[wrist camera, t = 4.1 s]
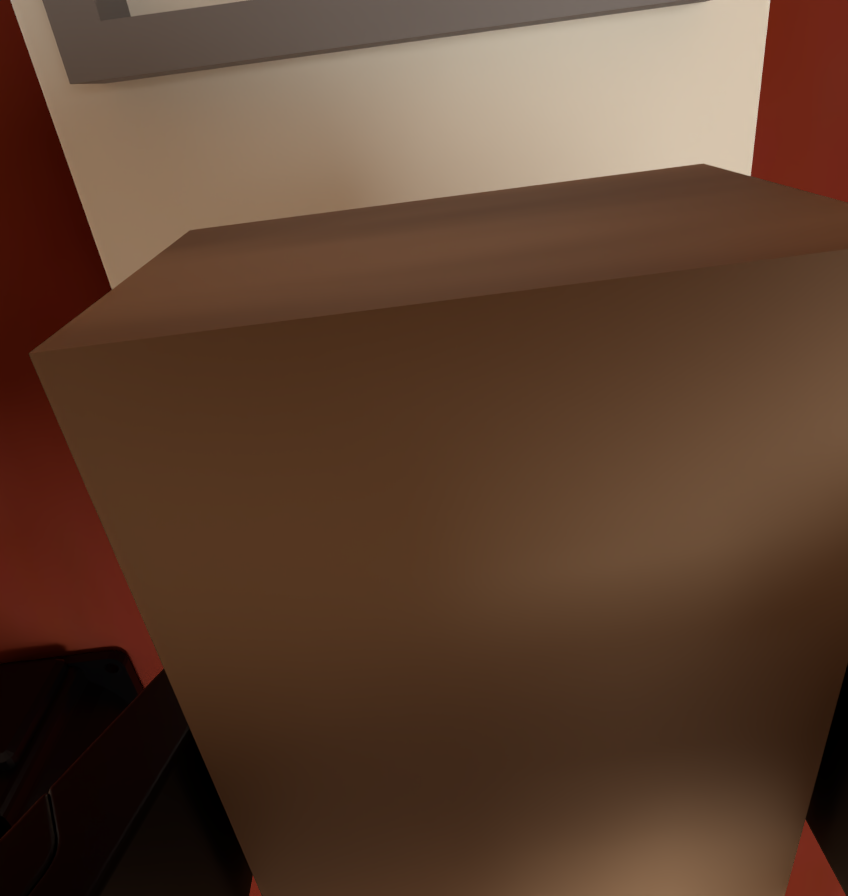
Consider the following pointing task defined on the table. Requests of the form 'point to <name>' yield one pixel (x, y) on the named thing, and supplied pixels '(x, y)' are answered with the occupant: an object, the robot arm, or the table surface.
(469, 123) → the mat
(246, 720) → the card box
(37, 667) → the robot arm
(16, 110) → the table surface
